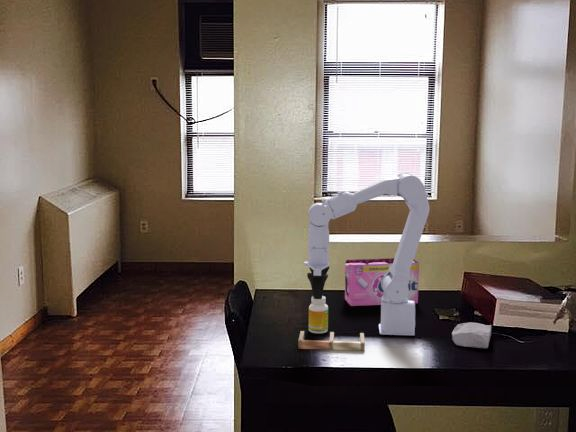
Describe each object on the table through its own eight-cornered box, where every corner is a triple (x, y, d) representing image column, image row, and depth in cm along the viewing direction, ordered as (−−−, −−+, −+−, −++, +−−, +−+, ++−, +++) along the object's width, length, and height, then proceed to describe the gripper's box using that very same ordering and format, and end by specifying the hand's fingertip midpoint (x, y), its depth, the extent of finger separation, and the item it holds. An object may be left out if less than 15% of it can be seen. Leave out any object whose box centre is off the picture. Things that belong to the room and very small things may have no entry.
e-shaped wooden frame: (363, 340, 171) (363, 333, 170) (364, 350, 163) (364, 343, 163) (300, 338, 172) (300, 330, 172) (298, 348, 164) (298, 341, 164)
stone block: (452, 352, 168) (491, 349, 164) (449, 334, 167) (488, 331, 164) (456, 339, 179) (493, 336, 175) (454, 322, 179) (490, 319, 175)
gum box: (346, 306, 201) (347, 265, 199) (340, 300, 209) (341, 259, 207) (418, 303, 205) (420, 262, 203) (409, 296, 213) (411, 257, 211)
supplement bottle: (326, 334, 175) (326, 300, 174) (307, 333, 176) (307, 299, 175) (329, 328, 180) (329, 295, 179) (310, 327, 181) (310, 294, 180)
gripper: (305, 241, 182) (305, 287, 184) (302, 252, 168) (302, 301, 170) (330, 242, 182) (330, 288, 184) (329, 252, 167) (328, 302, 169)
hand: (318, 294), depth 177 cm, fingers open, 7 cm apart
